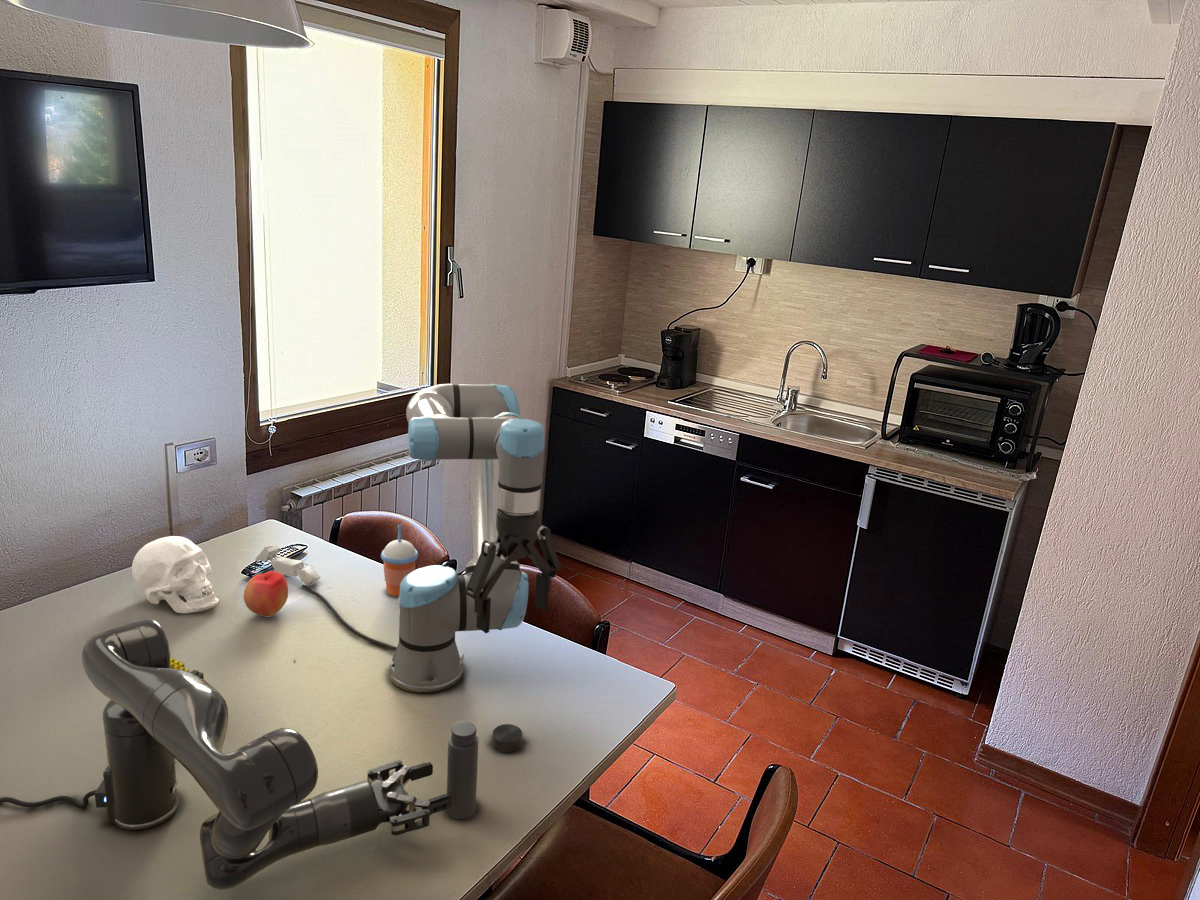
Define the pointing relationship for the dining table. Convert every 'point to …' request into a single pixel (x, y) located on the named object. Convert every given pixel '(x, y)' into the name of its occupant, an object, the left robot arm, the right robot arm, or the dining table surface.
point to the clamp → (288, 565)
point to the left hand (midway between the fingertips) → (441, 783)
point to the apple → (266, 593)
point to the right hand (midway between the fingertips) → (512, 618)
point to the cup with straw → (398, 562)
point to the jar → (462, 770)
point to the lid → (507, 738)
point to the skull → (174, 574)
